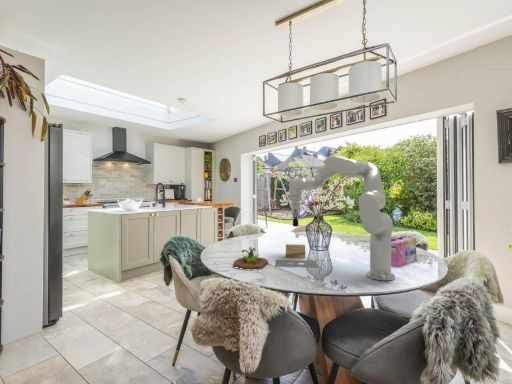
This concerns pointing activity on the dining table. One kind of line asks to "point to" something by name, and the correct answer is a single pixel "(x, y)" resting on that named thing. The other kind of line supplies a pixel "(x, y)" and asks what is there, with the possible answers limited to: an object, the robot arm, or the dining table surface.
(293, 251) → the oak block
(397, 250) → the gum box
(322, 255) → the dining table surface
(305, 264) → the mat
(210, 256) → the dining table surface
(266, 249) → the dining table surface
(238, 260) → the plant
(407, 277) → the dining table surface
